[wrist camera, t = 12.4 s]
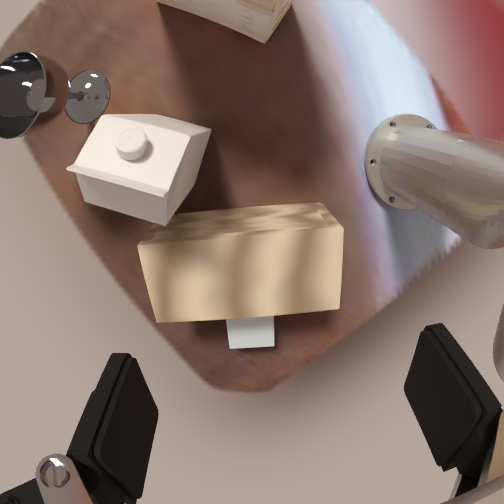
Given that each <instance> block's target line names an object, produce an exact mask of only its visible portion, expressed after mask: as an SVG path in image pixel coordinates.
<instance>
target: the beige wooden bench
mask: <svg viewBox="0 0 504 504" xmlns="http://www.w3.org/2000/svg"><path fill="white" fill-rule="evenodd" d="M343 230H344V228H343V227H342V226H341V225H340V224H339V223H338V221H337V220H336V219H335V218H334V217H333V215H332V214H331V213H330V212H329V211H328V210H327V208H326V207H325V206H324V205H323V204H322V203H321V202H313V203H298V204H283V205H270V206H257V207H245V208H233V209H222V210H211V211H201V212H191V213H181V214H174V215H173V216H172V217H171V219H170V220H169V222H168V223H167V225H166V226H164V225H160V224H157V223H154V225H153V226H152V227H151V229H150V230H149V231H148V232H147V234H146V235H145V236H144V237H143V239H142V240H141V241H140V243H139V244H138V245H137V247H138V252H139V256H140V260H141V264H142V269H143V273H144V277H145V281H146V285H147V288H148V292H149V296H150V300H151V303H152V307H153V311H154V314H155V318H156V321H157V322H183V321H204V320H221V319H236V318H250V317H263V316H275V315H286V314H296V313H306V312H316V311H325V310H333V309H339V306H340V293H341V277H342V258H343Z"/></svg>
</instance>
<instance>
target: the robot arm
mask: <svg viewBox="0 0 504 504" xmlns="http://www.w3.org/2000/svg"><path fill="white" fill-rule="evenodd" d="M390 123H391V126H390ZM371 160H372V163H371V164H370V161H371ZM365 168H366V174H367V177H368V181H369V183H370V185H371V187H372V189H373V190H374V192H375V193H376V194H377V196H378V197H379V198H381V199H382V200H383V201H384V202H385V203H387V204H388V205H390V206H392V207H395V208H397V209H402V210H413V209H417V208H418V209H419V210H421V211H423V212H424V213H426V214H427V215H429V216H431V217H432V218H434V219H435V220H437V221H438V222H440V223H441V224H443V225H444V226H446V227H447V228H449V229H450V230H452V231H453V232H455V233H456V234H458V235H459V236H461V237H462V238H464V239H465V240H467V241H468V242H470V243H472V244H473V245H475V246H478V247H480V248H484V249H497V248H502V247H504V142H501V141H496V140H491V139H486V138H482V137H477V136H472V135H466V134H461V133H455V132H449V131H443V130H438V129H437V128H436V127H435V126H434V125H433V124H432V123H431V122H430V121H428V120H427V119H425V118H423V117H421V116H418V115H413V114H400V115H395V116H392V117H390V118H388V119H386V120H385V121H383V122H382V123H381V124H380V125H379V126H378V127H377V128H376V129H375V131H374V132H373V134H372V135H371V137H370V140H369V142H368V145H367V149H366V153H365ZM390 197H391V198H390ZM389 198H390V199H389ZM493 358H494V364H495V367H496V370H497V372H498V374H499V376H500V378H501V379H502V380H503V381H504V305H503V309H502V312H501V315H500V320H499V323H498V327H497V331H496V335H495V339H494V345H493ZM404 391H405V395H406V397H407V399H408V401H409V403H410V405H411V408H412V410H413V412H414V414H415V416H416V418H417V420H418V423H419V425H420V427H421V429H422V432H423V434H424V436H425V438H426V441H427V443H428V445H429V448H430V450H431V452H432V455H433V457H434V459H435V462H436V464H437V465H438V466H441V467H442V469H443V471H444V472H445V471H447V470H450V469H452V468H454V467H457V469H458V471H459V474H458V476H457V479H456V482H455V485H454V488H453V490H452V493H451V496H450V498H449V500H448V501H446V502H444V503H441V504H504V410H502V409H501V404H500V402H499V401H498V399H497V398H496V396H495V395H494V394H493V392H492V390H491V389H490V387H489V386H488V384H487V383H486V381H485V380H484V378H483V377H482V376H481V375H480V373H479V371H478V370H477V369H476V367H475V366H474V364H473V363H472V362H471V360H470V359H469V357H468V356H467V355H466V353H465V352H464V351H463V349H462V348H461V347H460V345H459V344H458V343H457V341H456V340H455V339H454V337H453V336H452V335H451V334H450V332H449V331H448V330H447V328H446V327H445V326H444V325H443V324H442V323H438V324H433V325H429V326H426V327H425V328H424V331H422V332H421V333H420V336H419V339H418V343H417V346H416V350H415V354H414V356H413V360H412V363H411V366H410V370H409V372H408V375H407V379H406V381H405V385H404ZM157 421H158V409H157V406H156V404H155V402H154V400H153V397H152V395H151V393H150V391H149V388H148V386H147V384H146V381H145V379H144V377H143V374H142V372H141V369H140V367H139V364H138V362H137V360H136V359H135V358H132V356H131V355H130V354H128V353H112V355H111V356H110V358H109V360H108V362H107V364H106V367H105V369H104V371H103V373H102V375H101V378H100V380H99V382H98V384H97V387H96V389H95V390H94V391H93V392H92V393H91V395H90V397H89V400H88V402H87V404H86V407H85V409H84V411H83V414H82V416H81V419H80V421H79V423H78V426H77V428H76V431H75V433H74V436H73V438H72V441H71V443H70V446H69V449H68V451H67V454H66V456H65V455H62V454H52V455H49V456H46V457H45V458H43V459H42V460H41V461H40V462H39V464H38V466H37V468H36V478H34V479H32V480H30V481H28V482H26V483H24V484H22V485H19V486H17V487H15V488H13V489H11V490H8V491H6V492H4V493H2V494H0V504H124V503H126V504H136V501H137V499H139V498H141V497H142V493H143V488H144V482H145V478H146V473H147V468H148V463H149V458H150V453H151V448H152V443H153V439H154V434H155V430H156V425H157Z"/></svg>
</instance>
